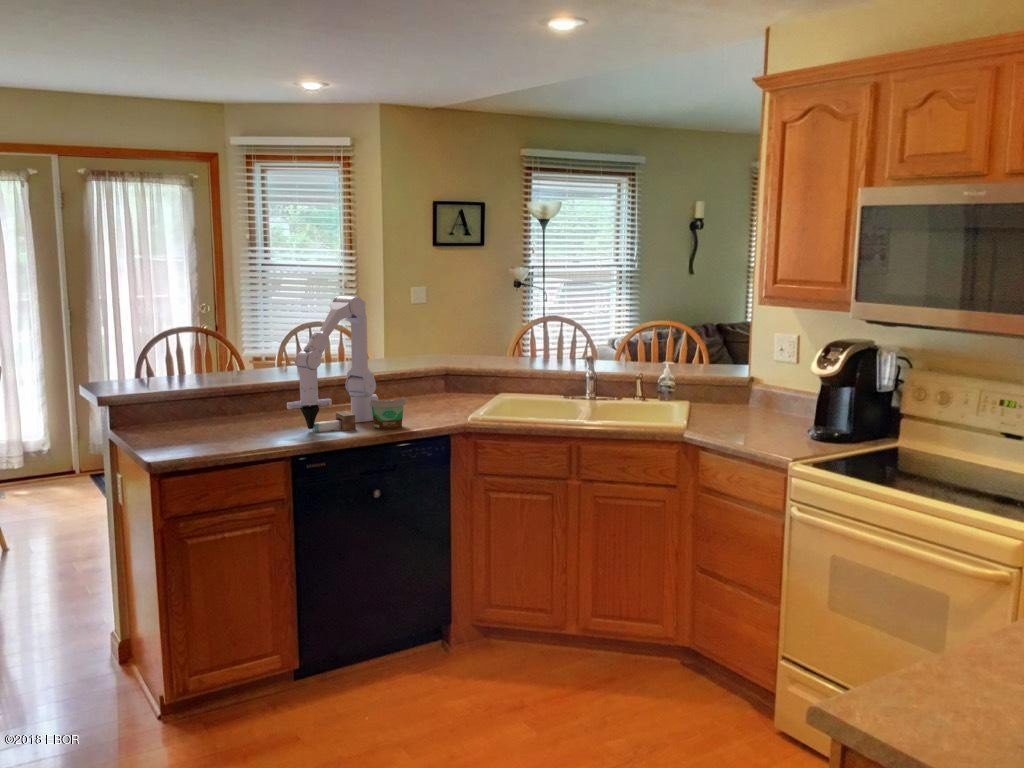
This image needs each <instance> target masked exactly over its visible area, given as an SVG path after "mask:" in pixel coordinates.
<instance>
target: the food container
mask: <svg viewBox="0 0 1024 768" xmlns="http://www.w3.org/2000/svg"><path fill="white" fill-rule="evenodd" d="M406 404H407V403H406V400H405V398H404V396H402V398H401V399H384V400H379V401H375V400H371V401H370V406H372V413H373V421H372V422H373V428H374V430H377V431H378V430H379V431H396V430H400V429H402V428H403V417H404V415H403V414H404V406H405V405H406Z"/></svg>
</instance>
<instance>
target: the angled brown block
mask: <svg viewBox="0 0 1024 768" xmlns="http://www.w3.org/2000/svg"><path fill="white" fill-rule="evenodd" d="M335 420H342V431H344V432H345V431H346V432H347V431H354V430H356V423H355V415H354V414H352V413H351V411H348V410H344V411H335Z"/></svg>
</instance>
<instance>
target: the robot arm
mask: <svg viewBox="0 0 1024 768" xmlns="http://www.w3.org/2000/svg"><path fill="white" fill-rule="evenodd" d="M329 308H330V311H329V312H328V314H327V315H326V318H325V320H324V322H323V323H322V325H321V328H320V330H318V331H316V332H314V333H312V334H311V336H310V339H309V340H308V341H307V343H306V345H305V346H304V349H303V350H301V351H299V352H298V353H297V354H296V355H295V356H296V357H295V359H294V364H295V366H296V367H297V372H298V374H299V393H300V394H299V396H300V400H295V401H291V402H290V401H289V402H286V408H287V409H288V410H292V409H300V411H301V413H302V415H303V417H304V420H305V423H306V425H307V429H308V430H313V427H314V422H316V418H317V416H318V413H319V411H320V407H321V406H322V407H324V406H332V405H333V402H332V400H333V399H332V398H319V386H318V385H319V383H318V381H319V380H318V368H319V366H321V363H322V356H323V353H324V351H325V350H326V348H327V347H328V345H329V344H330V338H329V337H330V335H331V334H332V333H333V331H334V330H335V328H336V327H337V326H338V324H339V323H340V321H341V320H344V319H346V320H347V321H348V322H349V323H350V329H351V330H350V336H351V338H350V339H351V340H350V341H351V342H350V343H351V345H350V346H351V348H350V349H351V368H350V369H349V370H348V371H347V373H346V380H345V390H346V391H347V392H348V395H349V396H350V413H352V414H354V415H355V424H356V423H363V422H366V423H367V422H374V421H373V413H372V406H370V401H371V400H375V401H380V400H379V397H378V395H377V394H376V393H375V391H376V389H377V383H376V382H377V381H376V379H375V374H374V373H375V372H374V371H372V370H371V369H370V368H369V366H368V365H369V363H368V361H369V360H368V357H369V355H368V353H369V352H368V317H367V316H368V315H367V313H366V302H365V300H363V298H362V297H361V296H357V295H356V296H348V295H347V296H343V295H336V296H335V297H334V298H333V300H332V302H331V303H330V305H329Z"/></svg>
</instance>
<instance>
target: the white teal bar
mask: <svg viewBox="0 0 1024 768" xmlns="http://www.w3.org/2000/svg"><path fill="white" fill-rule="evenodd" d="M332 430H333V431H341V430H342V420H336V419H334V420H333V419H332V420H326V421H325V420H323V421H317V422H316V421H315V422H314V427H313V429H312V432H314V433H323V431H324V432H332ZM342 431H343V430H342Z"/></svg>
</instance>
